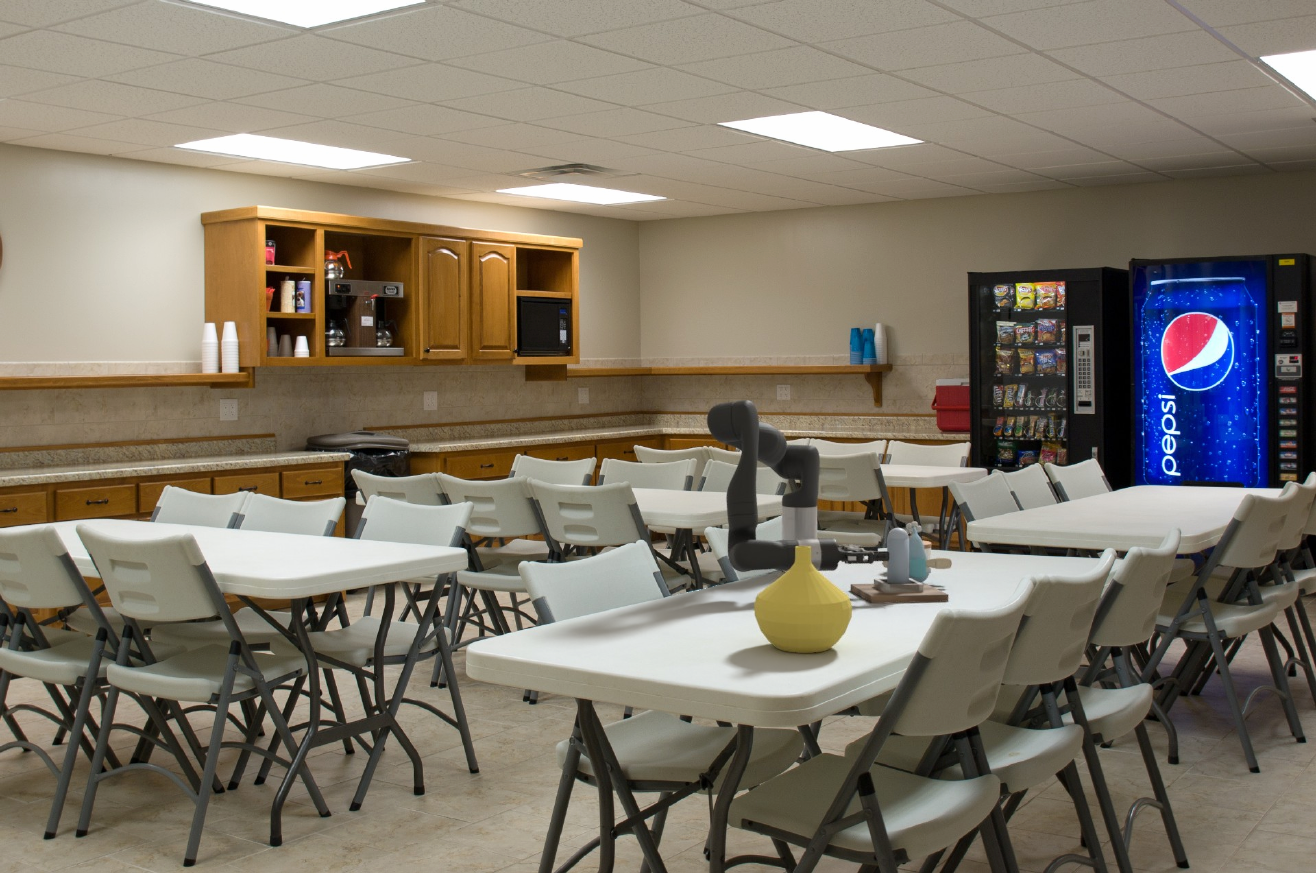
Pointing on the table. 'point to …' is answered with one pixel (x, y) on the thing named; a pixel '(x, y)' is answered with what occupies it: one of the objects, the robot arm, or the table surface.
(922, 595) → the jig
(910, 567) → the teal toy airplane
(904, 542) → the grey rounded-top cylinder
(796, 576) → the vase
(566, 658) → the table surface
